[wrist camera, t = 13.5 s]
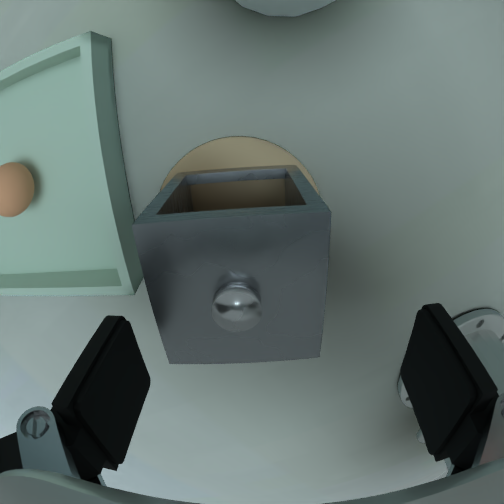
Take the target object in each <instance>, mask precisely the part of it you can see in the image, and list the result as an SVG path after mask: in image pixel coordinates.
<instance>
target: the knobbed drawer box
mask: <svg viewBox="0 0 504 504" xmlns="http://www.w3.org/2000/svg"><path fill="white" fill-rule="evenodd" d="M264 179H285V206H275V207H257V208H240V209H225V210H211V211H198V212H194V210H193V202H192V195H191V186H190V185H194V184H206V183H218V182H232V181H247V180H264ZM330 227H331V211H330V210H329V208H328V207H327V205H326V204H325V203H324V201H323V200H322V199H321V197H320V196H319V194H318V193H317V192H316V190H315V189H314V188H313V186H312V185H311V184H310V182H309V181H308V180H307V178H306V177H305V176H304V174H303V173H302V172H301V171H300V169H299V168H298V167H297V165H276V166H256V167H239V168H225V169H213V170H201V171H191V172H181V173H177V174H176V175H175V176H174V177H173V178H172V179H171V180H170V181H169V182H168V184H167V185H166V186H165V187H164V188H163V189H162V190H161V191H160V192H159V194H158V195H157V196H156V197H155V198H154V199H153V200H152V202H151V203H150V204H149V205H148V206H147V207H146V208H145V210H144V211H143V212H142V213H141V214H140V216H139V217H138V218H137V219H136V220H135V221H134V223H133V224H132V229H133V234H134V238H135V243H136V247H137V251H138V256H139V260H140V264H141V268H142V272H143V276H144V280H145V284H146V287H147V291H148V295H149V298H150V302H151V306H152V309H153V312H154V316H155V319H156V323H157V326H158V329H159V333H160V336H161V339H162V342H163V345H164V348H165V351H166V354H167V357H168V360H169V363H170V364H225V363H251V362H268V361H283V360H295V359H306V358H316V357H320V349H321V341H322V332H323V322H324V312H325V301H326V289H327V277H328V262H329V246H330Z"/></svg>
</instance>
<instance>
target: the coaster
mask: <svg viewBox="0 0 504 504" xmlns="http://www.w3.org/2000/svg"><path fill="white" fill-rule="evenodd" d="M276 165H297V167H298V168H299V169H300V171H301V172H302V173H303V174H304V176H305V177H306V178H307V180H308V181H309V182H310V184H311V185H312V186H313V188H314V189H315V190H316V192H317V193H318V194H319V192H318V189H317V187H316V185H315V183H314V181H313V179H312V177H311V176H310V174H309V173H308V171H307V170H306V168H305V167H304V166H303V165H302V164H301V163H300V162H299V161H298V160H297V159H296V158H295V157H294V156H293V155H292V154H290V153H289V152H288V151H286V150H285V149H283V148H281V147H280V146H278V145H276V144H273V143H271V142H269V141H266V140H262V139H258V138H254V137H246V136H231V137H225V138H219V139H216V140H212V141H209V142H207V143H205V144H203V145H200V146H198V147H197V148H195V149H194V150H192V151H190V152H189V153H188V154H187V155H185V156H184V157H183V158H182V159H181V160H180V161H179V162H178V163H177V164H176V165H175V166H174V167H173V168H172V169H171V171H170V172H169V174H168V175H167V177H166V179H165V181H164V183H163V185H162V187H161V189H160V191H161V190H162V189H163V188H164V187H165V186H166V185H167V184H168V182H169V181H170V180H171V179H172V178H173V177H174V176H175V175H176V174H177V173H181V172H191V171H201V170H213V169H225V168H239V167H256V166H276ZM190 186H191V195H192V202H193V210H194V212H198V211H211V210H225V209H240V208H257V207H275V206H285V179H264V180H247V181H232V182H218V183H206V184H194V185H190ZM319 196H320V195H319Z"/></svg>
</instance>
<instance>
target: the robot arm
mask: <svg viewBox="0 0 504 504" xmlns="http://www.w3.org/2000/svg"><path fill="white" fill-rule="evenodd" d="M400 374H401V375H400V378H399V382H398V392H399V395H400V398H401V400H402V402H403V403H404V405H406V406H407V407H409V408H412V409H413V410H414V412H415V415H416V418H417V420H418V423H419V426H420V430H419V431H418V433H417V439H418V441H419V442H421V443H426V446H427V449H428V452H429V453H430V454H431V455H434V458H435V461H436V462H437V461H440V460H443V459H444V461H445V463H446V466H447V469H448V473H447V475H446V477H445V478H442V479H439V480H435V481H432V482H428V483H425V484H421V485H418V486H414V487H411V488H407V489H403V490H399V491H395V492H390V493H386V494H381V495H376V496H371V497H366V498H360V499H354V500H347V501H340V502H332V503H323V504H504V318H503V317H502V315H501V314H500V313H499V312H497V311H495V310H493V309H481V310H475V311H472V312H470V313H467V314H464V315H462V316H460V317H458V318H457V319H455V320H452V318H451V317H450V316H449V314H448V313H447V311H446V310H445V309H444V307H443V306H442V305H441V304H440V303H435V304H427V305H423V307H422V309H421V310H419V311H418V312H417V315H416V319H415V323H414V326H413V330H412V334H411V337H410V340H409V344H408V347H407V350H406V354H405V357H404V360H403V363H402V366H401V371H400ZM149 387H150V376H149V373H148V371H147V368H146V366H145V363H144V360H143V358H142V355H141V352H140V349H139V347H138V344H137V341H136V338H135V335H134V332H133V330H132V327H131V324H130V322H129V321H126V319H125V318H124V317H123V316H106V317H105V318H104V320H103V321H102V323H101V324H100V326H99V327H98V329H97V330H96V332H95V333H94V335H93V336H92V338H91V340H90V341H89V343H88V344H87V346H86V347H85V349H84V350H83V352H82V354H81V355H80V357H79V358H78V360H77V362H76V363H75V365H74V366H73V368H72V370H71V371H70V373H69V375H68V376H67V378H66V380H65V381H64V383H63V385H62V386H61V388H60V390H59V391H58V393H57V395H56V397H55V398H54V400H53V402H52V405H53V407H52V409H51V410H49V409H48V408H45V407H40V406H37V407H33V408H30V409H28V410H26V411H25V412H24V413H23V414H22V415H21V417H20V418H19V419H18V422H17V429H16V431H17V432H15V433H13V434H10V435H8V436H5V437H3V438H1V439H0V504H199V503H190V502H182V501H175V500H168V499H162V498H156V497H151V496H146V495H141V494H136V493H132V492H127V491H123V490H119V489H114V488H110V487H107V486H106V484H105V482H104V480H103V478H102V476H101V471H102V468H107V469H111V470H115V471H117V468H118V465H119V464H122V463H123V462H124V459H125V456H126V453H127V450H128V447H129V444H130V441H131V438H132V435H133V432H134V430H135V427H136V424H137V421H138V418H139V415H140V412H141V410H142V407H143V404H144V401H145V398H146V396H147V393H148V390H149Z"/></svg>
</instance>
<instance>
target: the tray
mask: <svg viewBox="0 0 504 504" xmlns="http://www.w3.org/2000/svg"><path fill="white" fill-rule="evenodd" d="M9 162H16V163H20V164H22V165H24V166H25V167H26V168H27V169H28V170H29V171H30V173H31V174H32V177H33V180H34V195H33V198H32V201H31V203H30V205H29V206H28V207H27V209H26V210H25V211H24V212H22V213H21V214H19V215H17V216H14V217H4V216H1V215H0V296H104V295H135V293H136V291H137V289H138V287H139V285H140V283H141V281H142V279H143V277H144V276H143V272H142V268H141V264H140V260H139V256H138V251H137V247H136V243H135V238H134V234H133V229H132V224H133V223H134V216H133V212H132V207H131V201H130V196H129V191H128V185H127V180H126V174H125V168H124V162H123V155H122V148H121V141H120V134H119V126H118V118H117V109H116V100H115V90H114V78H113V64H112V46H111V38H108V37H106V36H103V35H100V34H97V33H95V32H92V31H89V32H86V33H84V34H81V35H78V36H75V37H73V38H70V39H67V40H65V41H62V42H60V43H58V44H55V45H53V46H50V47H48V48H46V49H44V50H41V51H39V52H37V53H35V54H33V55H31V56H29V57H26V58H24V59H22V60H20V61H18V62H17V63H15V64H13V65H11V66H9V67H7V68H5V69H3V70H2V71H0V166H1V165H3V164H5V163H9Z"/></svg>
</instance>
